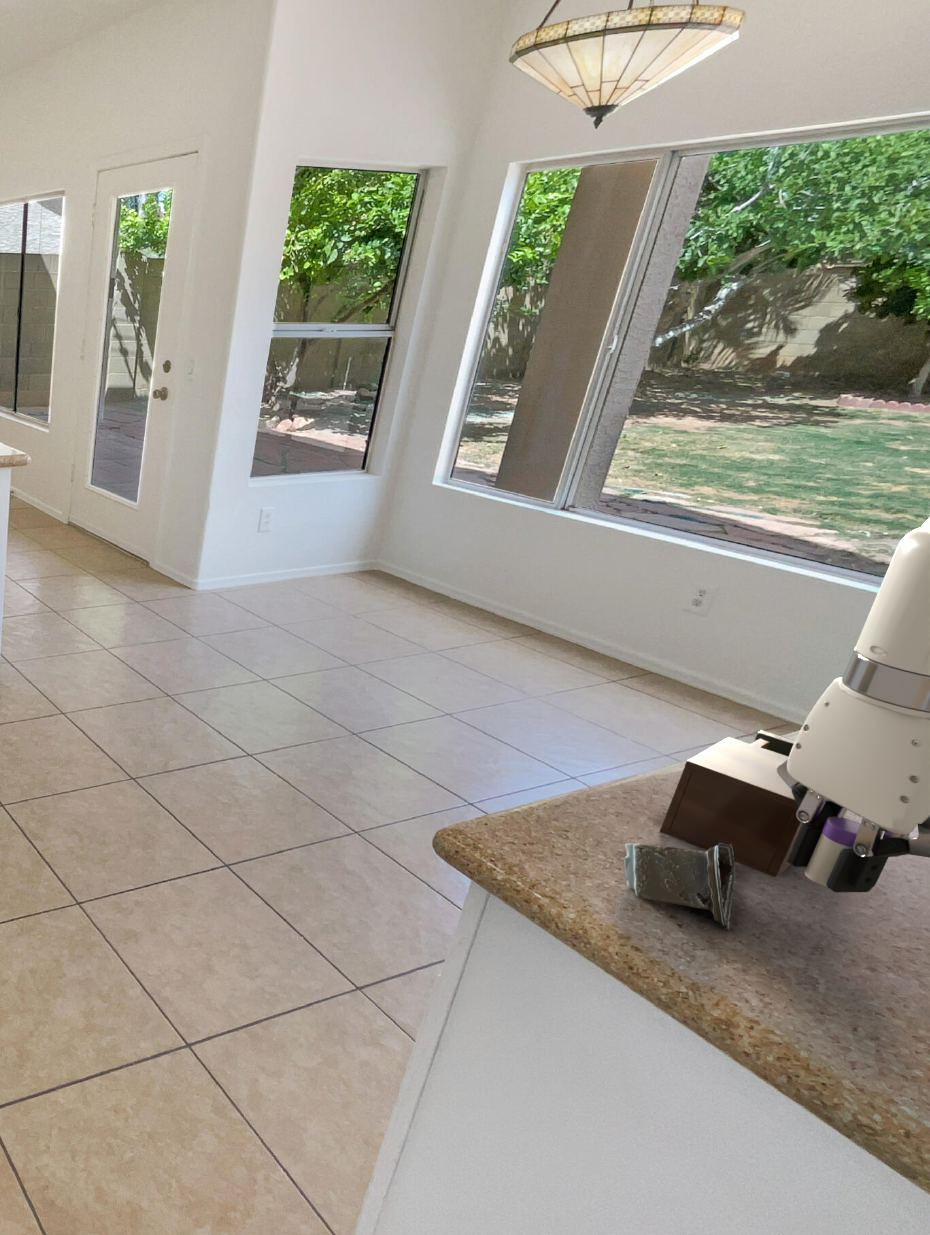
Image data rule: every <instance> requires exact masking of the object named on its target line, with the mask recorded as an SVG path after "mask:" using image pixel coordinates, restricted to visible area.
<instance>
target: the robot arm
mask: <svg viewBox="0 0 930 1235" xmlns="http://www.w3.org/2000/svg"><path fill="white" fill-rule="evenodd" d="M863 625H864V626H863V627H862V630H861V633H860V634H859V637H858V639H857V641H856V642H857V643H856V645H855V647H854V649H853V651H852V654H851V656H850V659H849V661H848V664H847V666H846V668H845V670H844V673H843V675H842V677H837V678H835V679H833V681H832V682H831V683H830V684H829V685H828V687H827V688H826V689H825V691H823V693H822V694H821V696H820V697H819V698H818V700H817V701H816V703H815V704H814V706H813V707H812V709H811V711H810V712H809V714H808V716H807V717H806V719H805V721H804V723H803V725H802V727H801V728H800V730H799V732H798V733H797V736H796V737H795V739H794V741H795V742H794V745H793V747H792V749H791V752H790V755H789V758H788V760H787V761H785V762H784V763H782V764H781V765H780V766H778V768H777V773H778V774H779V776H780V777H781V778H782V779H783V780H784V782H785V783H786V784H787V785H788V786H789V788H792V794H793V796H794V798H795V801H796V803H797V805H798V807H799V808H798V810H797V812H796V817H797V819H798V820H799V821H800V822H802V825H801V827H800V830H799V832H798V834H797V837H796V839H795V841H794V844H793V848H792V850H791V852H790V855H789V857H788V859H787V862H788V863H790V864H791V865H792V866H793V867H797V868H807V866H808V863H809V861H810V859H811V857H812V854H813V852H814V850H815V847H816V845H817V843H818V841H819V838H820V836H821V834H822V829H823V827H824V825H825V823H826V820H827V819H828V818H829V817H841V818H845V815H846V813H847V811H849V812H851V813H853V814H854V815H857V816H858V817H859V818H862V819H861V822H860V823H861V824H860V827H859V830H858V833H857V836H856V838H855V841H854V844H853V849H843V850H842V851H841V852H840V854H839V856H838V859H837V861H836V863H835V865H834V867H833V870H832V872H831V874H830V876H829V878H828V881H827V883H826V885H827V887H826V888H827V889H829V890H831V891H832V892H834V893H868V892H871V890H872V889H873V888H874V887H875V886H876V884H877V883H878V880H879V878H880V876H881V875H882V873H883V870H884V868H885V866H886V864H887V862H888V859H889V858H898V857H902V856H908V855H911V856H917V857H922V858H923V857H924V858H928V859H929V858H930V517H928V519H927V520H925V522H924V523H923V524H922V525H921V527H918V528H915V529H913V530H912V531H910V532H908V533H907V534H905V535H904V537H902V539H901V540H900V541H899V543H898V545H897V547H896V550H895V551H894V553H893V557H892V558H891V560H890V563H889V566H888V568H887V571H886V572H885V575H884V577H883V580H882V581H881V584H880V587H879V589H878V591H877V594H876V596H875V599H874V601H873V603H872V606H871V608H870V611H869V613H868V616H867V618H866V620H865V623H864V624H863ZM916 827H917V833H918V835H917V837H914V836H913V837H912V836H911V837H910V834H911V833H912V832H913V831H914V830H915V829H916Z"/></svg>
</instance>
